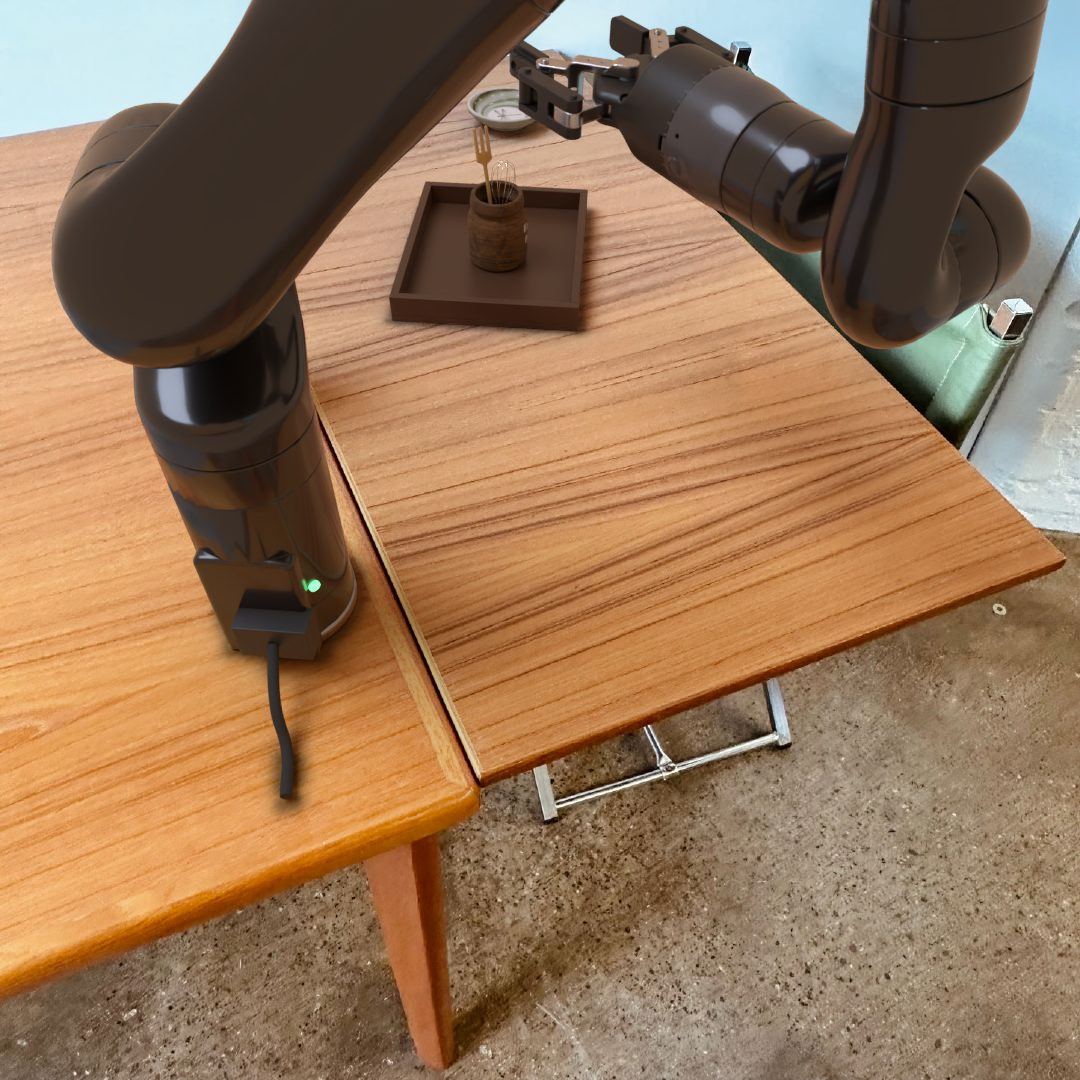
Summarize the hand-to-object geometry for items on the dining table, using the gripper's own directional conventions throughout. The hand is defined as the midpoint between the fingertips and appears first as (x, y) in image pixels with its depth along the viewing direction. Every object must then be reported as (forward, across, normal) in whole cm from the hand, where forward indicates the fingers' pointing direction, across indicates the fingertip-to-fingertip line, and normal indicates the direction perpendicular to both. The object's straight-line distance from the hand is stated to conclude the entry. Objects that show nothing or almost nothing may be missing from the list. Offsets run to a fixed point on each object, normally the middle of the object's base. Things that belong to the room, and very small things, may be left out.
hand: (565, 42), depth 65 cm
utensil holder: (+14, -2, +26) cm, 29 cm away
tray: (+14, -2, +26) cm, 30 cm away
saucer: (+40, -20, +26) cm, 52 cm away
